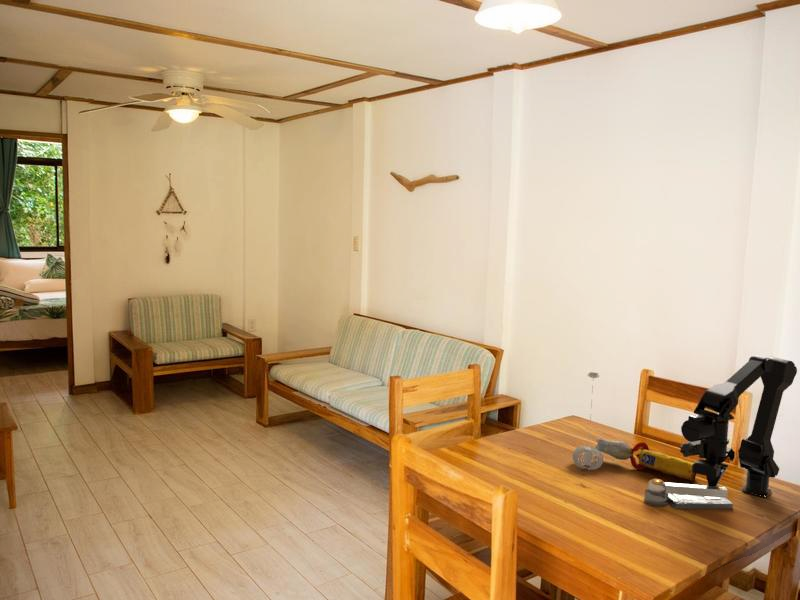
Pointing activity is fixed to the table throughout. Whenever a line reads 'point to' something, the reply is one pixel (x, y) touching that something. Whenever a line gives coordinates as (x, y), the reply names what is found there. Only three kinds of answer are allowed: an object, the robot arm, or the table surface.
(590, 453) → the pendant light
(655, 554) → the table surface
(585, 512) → the table surface
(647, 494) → the pivot base
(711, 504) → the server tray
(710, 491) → the swing arm
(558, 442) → the table surface
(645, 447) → the toy
